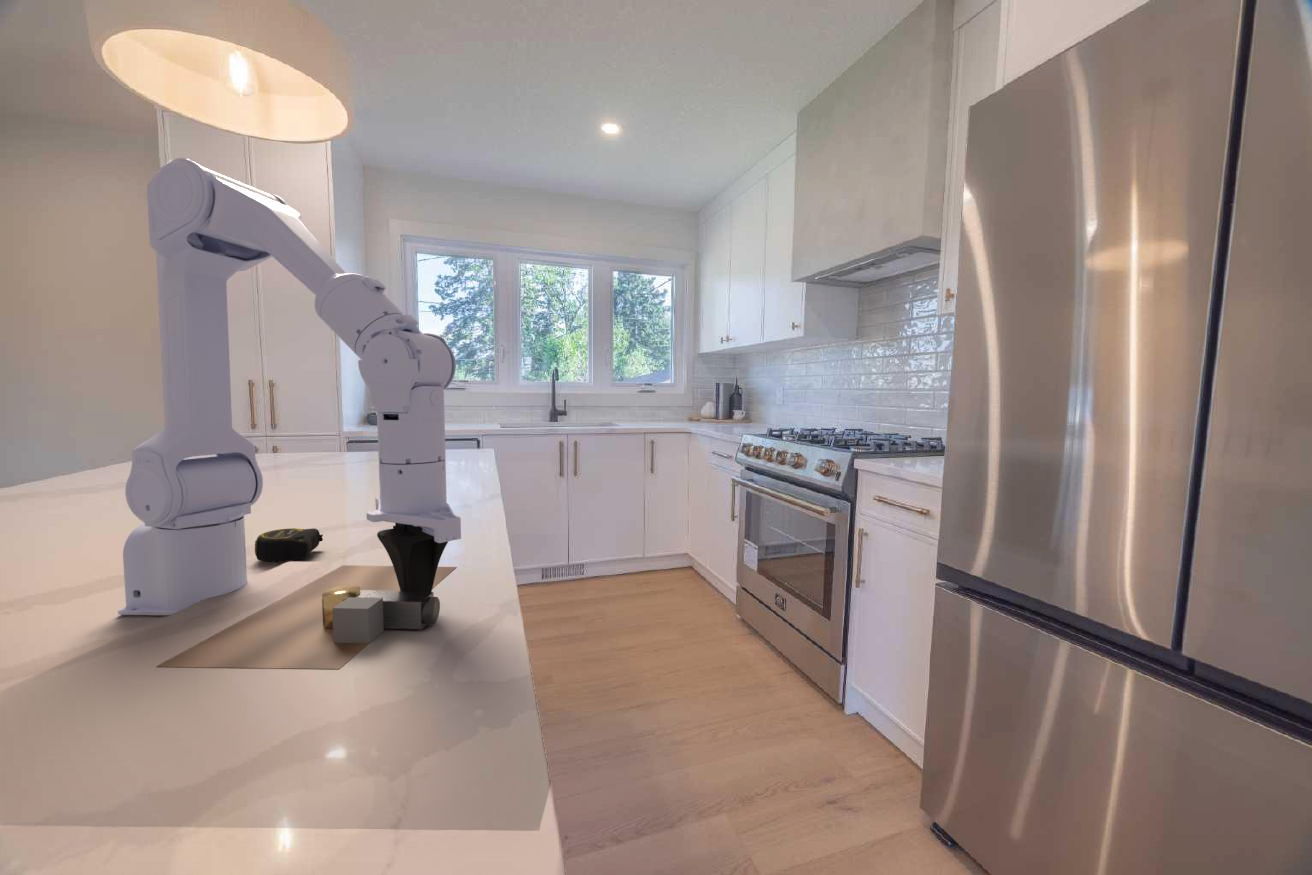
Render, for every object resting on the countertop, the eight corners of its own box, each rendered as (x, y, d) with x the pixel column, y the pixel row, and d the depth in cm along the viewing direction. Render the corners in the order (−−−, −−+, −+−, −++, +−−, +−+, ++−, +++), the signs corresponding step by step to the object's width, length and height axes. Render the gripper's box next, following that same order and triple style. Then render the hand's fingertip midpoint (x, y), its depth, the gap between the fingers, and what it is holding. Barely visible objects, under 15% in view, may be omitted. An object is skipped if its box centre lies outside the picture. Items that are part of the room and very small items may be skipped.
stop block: (333, 642, 44) (332, 608, 44) (350, 629, 46) (349, 597, 46) (368, 642, 44) (368, 608, 44) (383, 630, 46) (382, 597, 46)
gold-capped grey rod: (315, 627, 46) (314, 596, 46) (337, 613, 49) (336, 584, 49) (426, 631, 46) (425, 600, 46) (441, 616, 49) (441, 587, 49)
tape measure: (307, 565, 68) (306, 537, 68) (245, 569, 66) (244, 541, 66) (323, 550, 75) (322, 525, 75) (267, 554, 73) (266, 528, 73)
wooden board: (156, 685, 40) (155, 666, 40) (342, 577, 64) (342, 565, 64) (339, 687, 40) (339, 668, 40) (457, 578, 64) (457, 566, 64)
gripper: (340, 457, 51) (346, 592, 52) (399, 473, 41) (404, 638, 42) (413, 452, 56) (417, 575, 57) (481, 464, 46) (484, 612, 47)
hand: (417, 600), depth 50 cm, fingers closed
